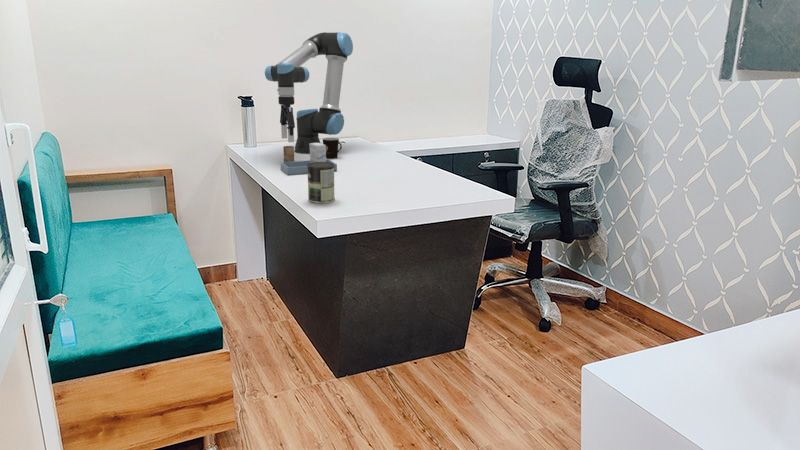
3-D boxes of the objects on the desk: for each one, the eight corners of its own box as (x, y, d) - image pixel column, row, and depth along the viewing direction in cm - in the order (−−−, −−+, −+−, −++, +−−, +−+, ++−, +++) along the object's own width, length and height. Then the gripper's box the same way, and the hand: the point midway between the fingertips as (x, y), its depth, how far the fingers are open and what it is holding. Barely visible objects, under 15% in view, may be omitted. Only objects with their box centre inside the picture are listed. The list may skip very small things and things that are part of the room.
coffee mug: (320, 156, 317) (320, 138, 314) (336, 155, 320) (336, 137, 317) (327, 160, 307) (326, 141, 304) (343, 159, 310) (342, 140, 307)
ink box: (327, 169, 283) (326, 144, 279) (317, 170, 280) (316, 145, 276) (319, 166, 290) (318, 142, 286) (309, 167, 287) (308, 143, 283)
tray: (280, 169, 284) (280, 162, 283) (328, 166, 294) (328, 159, 292) (287, 175, 272) (287, 167, 271) (336, 171, 282) (336, 164, 281)
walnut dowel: (283, 164, 297) (282, 146, 294) (293, 163, 299) (292, 145, 296) (285, 166, 293) (284, 147, 290) (295, 165, 295) (294, 147, 292)
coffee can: (307, 203, 226) (306, 167, 222) (309, 196, 236) (307, 161, 231) (334, 203, 227) (334, 167, 222) (335, 196, 236) (334, 161, 232)
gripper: (272, 94, 295) (274, 137, 301) (284, 98, 273) (286, 144, 279) (287, 94, 298) (289, 136, 304) (300, 97, 276) (301, 143, 282)
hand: (287, 140), depth 292 cm, fingers open, 13 cm apart
